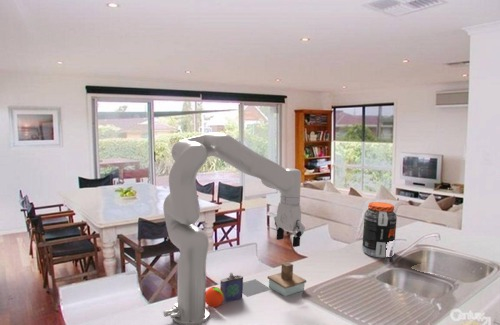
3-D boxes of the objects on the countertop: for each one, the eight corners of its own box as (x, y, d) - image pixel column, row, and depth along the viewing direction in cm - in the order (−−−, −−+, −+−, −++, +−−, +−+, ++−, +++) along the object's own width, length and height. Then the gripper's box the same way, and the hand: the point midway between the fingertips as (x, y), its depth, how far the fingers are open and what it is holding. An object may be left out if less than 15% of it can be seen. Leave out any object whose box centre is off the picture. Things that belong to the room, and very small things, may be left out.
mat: (247, 298, 143) (247, 296, 143) (232, 287, 152) (232, 285, 152) (271, 290, 150) (271, 289, 150) (255, 280, 159) (255, 279, 159)
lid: (284, 288, 143) (285, 271, 142) (267, 278, 152) (268, 262, 151) (306, 282, 149) (307, 265, 148) (288, 272, 158) (288, 256, 157)
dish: (284, 298, 144) (285, 288, 144) (268, 287, 152) (269, 278, 152) (304, 291, 150) (304, 282, 149) (287, 282, 158) (288, 273, 158)
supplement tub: (390, 261, 185) (394, 209, 182) (358, 254, 193) (361, 205, 190) (396, 251, 198) (400, 203, 195) (366, 245, 206) (369, 199, 203)
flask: (221, 305, 137) (222, 277, 136) (218, 301, 140) (218, 274, 139) (243, 299, 142) (244, 272, 141) (240, 296, 144) (240, 269, 143)
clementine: (229, 305, 137) (230, 287, 136) (217, 313, 131) (217, 294, 130) (212, 299, 141) (213, 281, 141) (200, 306, 136) (200, 288, 135)
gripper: (268, 196, 152) (267, 238, 154) (297, 205, 137) (295, 251, 139) (283, 195, 156) (281, 235, 158) (312, 203, 142) (310, 247, 144)
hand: (287, 242), depth 149 cm, fingers open, 9 cm apart
